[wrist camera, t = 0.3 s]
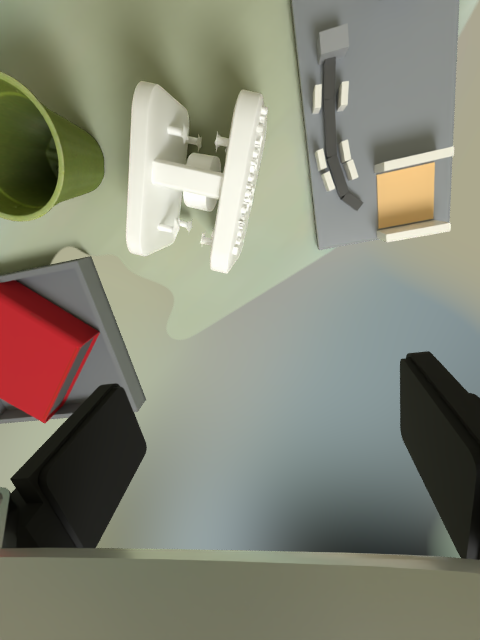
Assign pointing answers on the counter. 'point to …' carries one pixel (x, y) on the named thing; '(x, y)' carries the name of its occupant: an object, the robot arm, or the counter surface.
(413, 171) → the board
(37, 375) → the red device housing
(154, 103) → the cable organizer
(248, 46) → the counter surface
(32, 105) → the plant pot
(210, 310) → the counter surface
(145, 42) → the counter surface
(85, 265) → the tray
